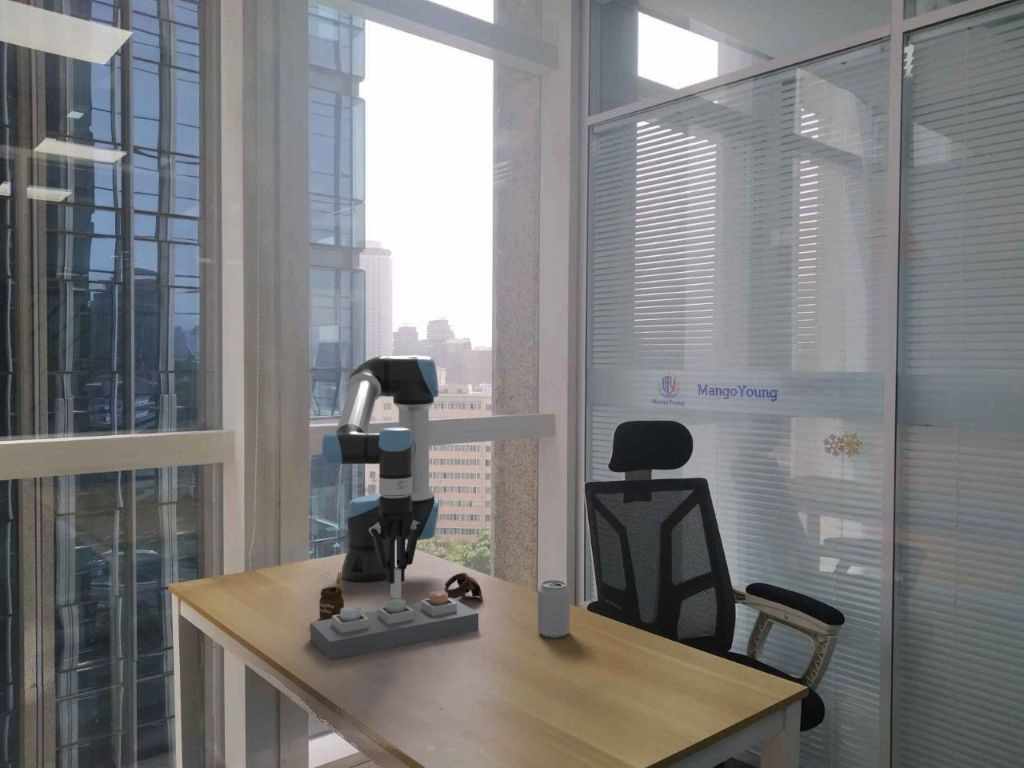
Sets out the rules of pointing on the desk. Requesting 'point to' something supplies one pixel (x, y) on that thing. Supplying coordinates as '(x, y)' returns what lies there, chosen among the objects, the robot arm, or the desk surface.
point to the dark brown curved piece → (463, 586)
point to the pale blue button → (350, 613)
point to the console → (392, 628)
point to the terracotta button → (438, 598)
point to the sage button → (395, 605)
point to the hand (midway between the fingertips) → (395, 596)
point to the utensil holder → (331, 600)
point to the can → (553, 608)
